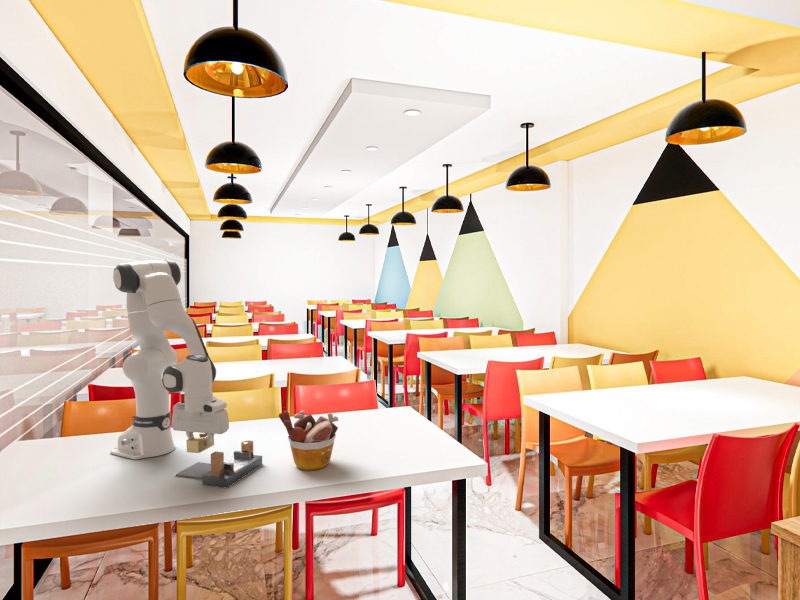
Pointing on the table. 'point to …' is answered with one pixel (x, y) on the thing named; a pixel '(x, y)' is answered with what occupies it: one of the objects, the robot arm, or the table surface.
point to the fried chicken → (310, 439)
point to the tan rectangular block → (198, 443)
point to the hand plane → (231, 466)
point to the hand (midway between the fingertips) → (200, 444)
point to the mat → (195, 470)
